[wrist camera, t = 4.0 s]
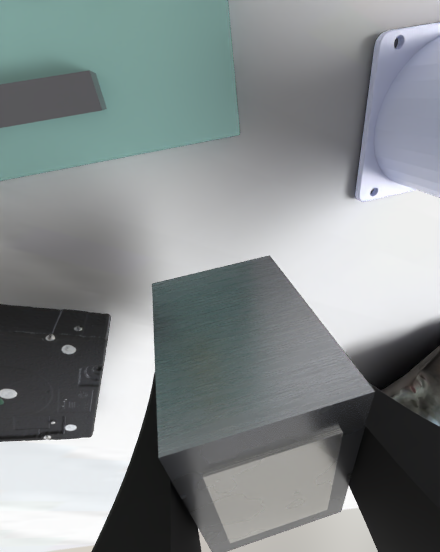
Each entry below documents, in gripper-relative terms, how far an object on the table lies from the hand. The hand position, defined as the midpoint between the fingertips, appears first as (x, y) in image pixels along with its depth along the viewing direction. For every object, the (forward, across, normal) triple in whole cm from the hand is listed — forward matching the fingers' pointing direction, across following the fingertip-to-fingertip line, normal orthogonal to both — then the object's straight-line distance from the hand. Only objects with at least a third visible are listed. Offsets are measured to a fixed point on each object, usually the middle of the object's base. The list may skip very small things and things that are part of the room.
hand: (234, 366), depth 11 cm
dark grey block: (+2, 0, 0) cm, 2 cm away
